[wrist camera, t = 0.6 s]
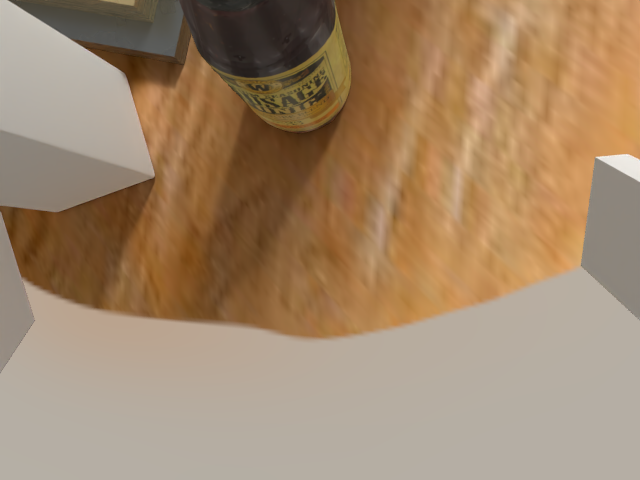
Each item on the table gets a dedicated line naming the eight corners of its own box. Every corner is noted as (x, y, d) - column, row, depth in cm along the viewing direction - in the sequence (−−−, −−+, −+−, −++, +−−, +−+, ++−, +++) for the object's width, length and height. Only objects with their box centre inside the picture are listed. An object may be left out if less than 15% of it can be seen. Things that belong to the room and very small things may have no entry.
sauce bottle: (250, 135, 36) (51, -6, 17) (258, 34, 36) (69, -224, 17) (356, 140, 35) (276, -6, 16) (364, 36, 35) (294, -240, 16)
